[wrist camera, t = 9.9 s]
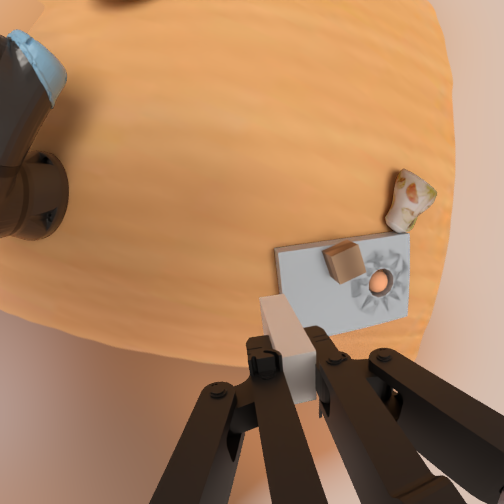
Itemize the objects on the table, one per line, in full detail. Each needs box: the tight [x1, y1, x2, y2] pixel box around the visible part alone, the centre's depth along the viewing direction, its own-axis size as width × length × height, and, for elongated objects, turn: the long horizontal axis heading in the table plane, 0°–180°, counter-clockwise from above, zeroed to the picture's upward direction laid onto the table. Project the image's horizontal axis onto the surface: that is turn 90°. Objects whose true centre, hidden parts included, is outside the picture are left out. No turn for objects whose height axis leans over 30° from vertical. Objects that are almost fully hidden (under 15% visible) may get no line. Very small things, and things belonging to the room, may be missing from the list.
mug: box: [385, 169, 437, 233], centre depth 38 cm, size 8×10×10 cm
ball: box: [369, 270, 388, 292], centre depth 41 cm, size 4×4×4 cm
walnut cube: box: [322, 240, 366, 285], centre depth 36 cm, size 4×4×4 cm
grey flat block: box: [274, 231, 410, 336], centre depth 41 cm, size 21×14×4 cm, turn 97°
